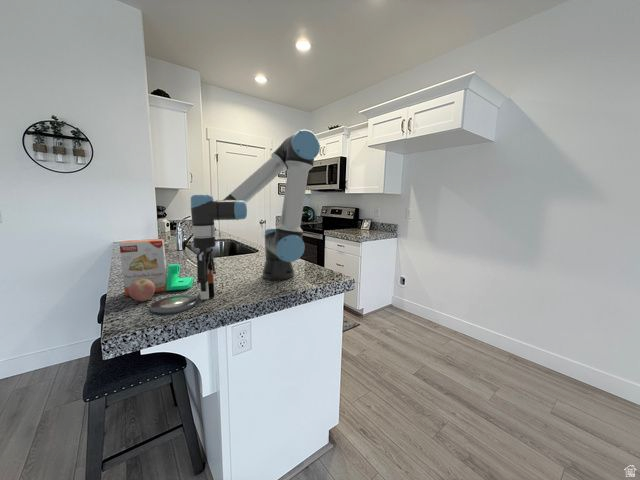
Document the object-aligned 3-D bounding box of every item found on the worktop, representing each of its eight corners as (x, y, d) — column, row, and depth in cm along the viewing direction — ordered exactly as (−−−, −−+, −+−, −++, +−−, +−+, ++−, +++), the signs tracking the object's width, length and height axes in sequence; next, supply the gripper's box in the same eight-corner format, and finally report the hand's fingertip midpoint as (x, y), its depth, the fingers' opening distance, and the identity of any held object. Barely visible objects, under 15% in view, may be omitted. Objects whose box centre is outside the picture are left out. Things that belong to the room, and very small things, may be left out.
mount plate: (201, 297, 100) (201, 294, 99) (189, 312, 86) (189, 309, 86) (161, 299, 97) (161, 296, 97) (142, 315, 84) (142, 312, 83)
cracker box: (124, 297, 100) (118, 242, 97) (128, 292, 105) (122, 240, 102) (167, 291, 106) (162, 240, 103) (168, 287, 111) (163, 238, 108)
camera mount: (188, 291, 107) (186, 266, 105) (167, 293, 105) (164, 268, 103) (194, 282, 118) (192, 260, 116) (175, 283, 116) (173, 261, 115)
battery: (201, 299, 98) (199, 273, 96) (202, 293, 104) (200, 268, 103) (214, 297, 100) (212, 271, 98) (214, 291, 106) (212, 267, 104)
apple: (126, 305, 92) (123, 283, 91) (135, 297, 99) (133, 277, 98) (151, 303, 94) (149, 282, 92) (159, 296, 101) (157, 275, 100)
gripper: (201, 233, 108) (205, 286, 112) (183, 241, 87) (188, 306, 91) (220, 232, 109) (223, 285, 113) (207, 240, 89) (211, 304, 92)
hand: (208, 294), depth 102 cm, fingers open, 8 cm apart
